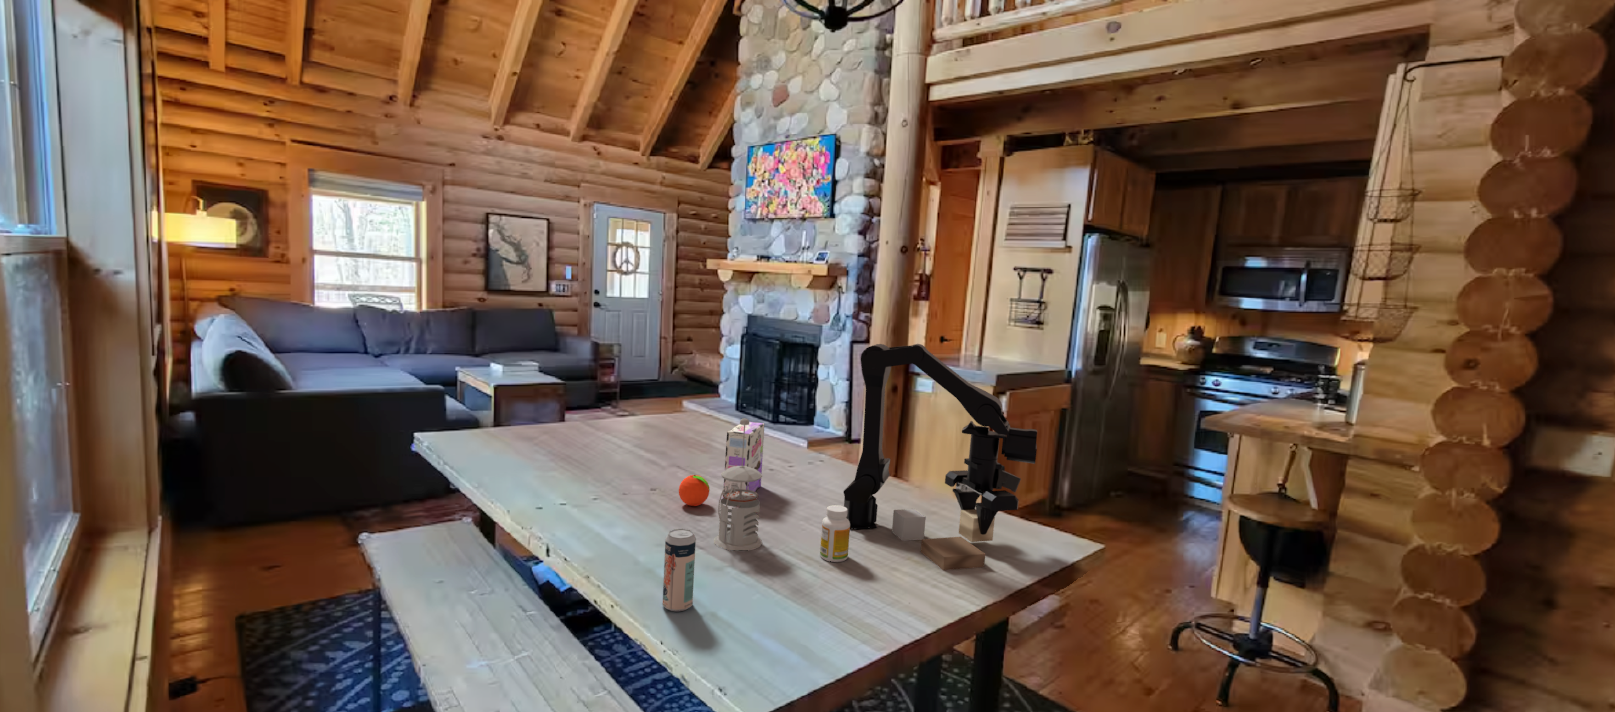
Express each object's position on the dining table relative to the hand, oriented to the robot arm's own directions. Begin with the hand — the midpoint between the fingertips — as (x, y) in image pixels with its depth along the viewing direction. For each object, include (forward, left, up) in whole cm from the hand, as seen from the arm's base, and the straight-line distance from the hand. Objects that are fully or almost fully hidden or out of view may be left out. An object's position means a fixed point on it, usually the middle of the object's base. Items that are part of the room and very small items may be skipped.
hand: (976, 529), depth 145 cm
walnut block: (-9, -6, -4) cm, 11 cm away
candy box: (-40, +40, -4) cm, 57 cm away
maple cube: (0, 0, -2) cm, 2 cm away
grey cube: (-12, +7, -3) cm, 14 cm away
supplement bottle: (-32, -1, -3) cm, 32 cm away
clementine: (-53, +32, -4) cm, 62 cm away
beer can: (-64, -15, -3) cm, 66 cm away
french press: (-49, +9, -3) cm, 50 cm away
